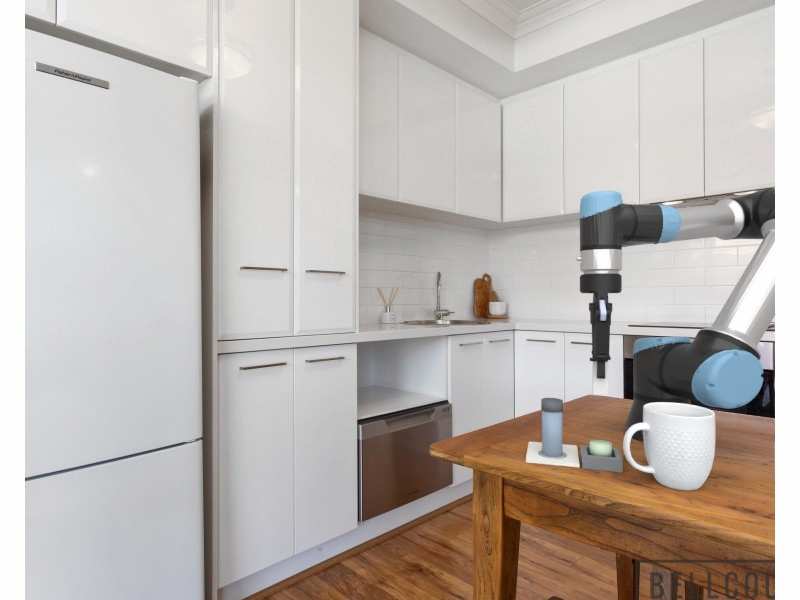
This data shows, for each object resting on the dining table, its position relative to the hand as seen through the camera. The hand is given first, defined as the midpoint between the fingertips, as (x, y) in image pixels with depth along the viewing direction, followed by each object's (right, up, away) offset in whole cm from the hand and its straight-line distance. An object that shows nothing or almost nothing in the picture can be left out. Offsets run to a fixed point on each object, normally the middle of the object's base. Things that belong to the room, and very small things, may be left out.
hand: (600, 394), depth 94 cm
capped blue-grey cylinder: (-8, -13, +4) cm, 16 cm away
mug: (+9, -14, -9) cm, 19 cm away
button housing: (0, -14, 0) cm, 14 cm away
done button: (0, -12, 0) cm, 12 cm away
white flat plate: (-8, -14, +6) cm, 17 cm away
